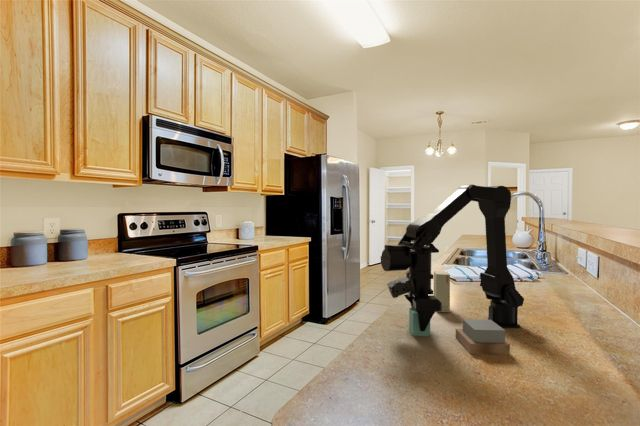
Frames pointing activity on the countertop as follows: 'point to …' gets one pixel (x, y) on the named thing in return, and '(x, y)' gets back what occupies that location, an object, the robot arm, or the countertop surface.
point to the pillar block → (416, 324)
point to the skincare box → (442, 289)
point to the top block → (483, 331)
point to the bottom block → (482, 345)
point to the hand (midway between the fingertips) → (419, 326)
